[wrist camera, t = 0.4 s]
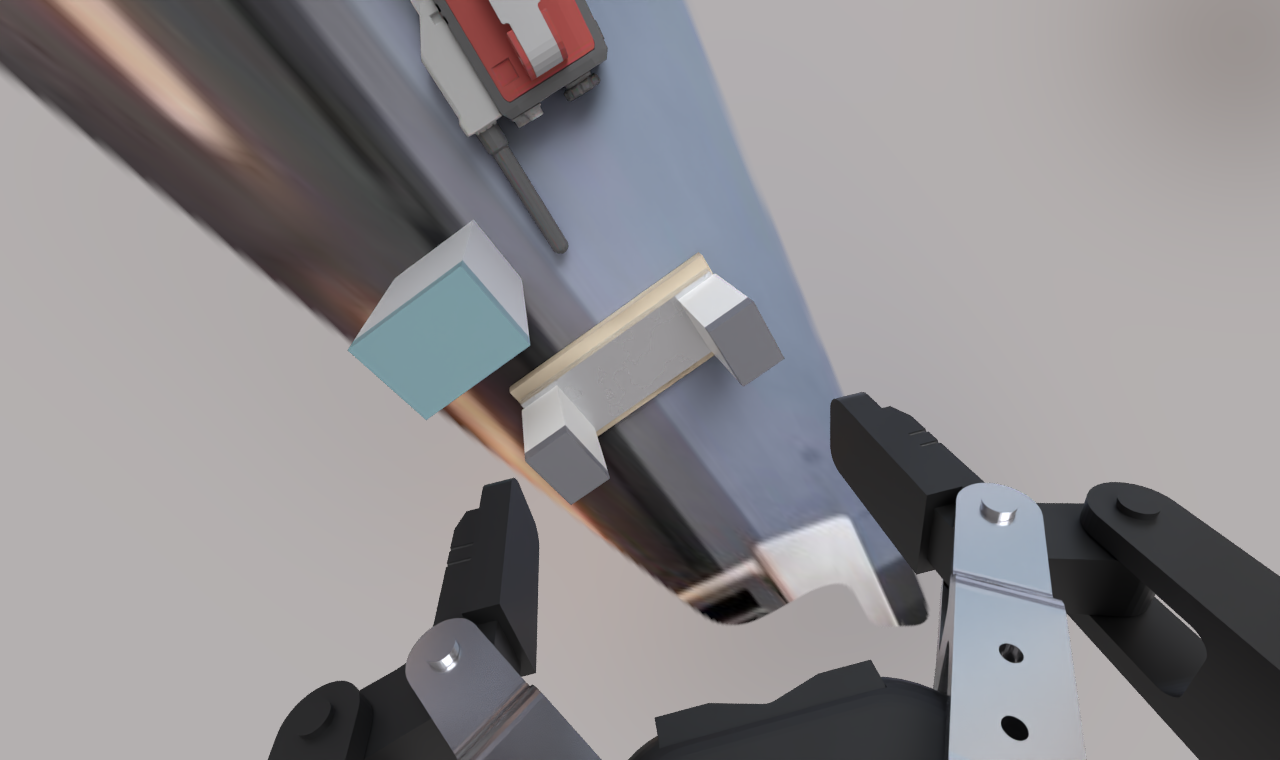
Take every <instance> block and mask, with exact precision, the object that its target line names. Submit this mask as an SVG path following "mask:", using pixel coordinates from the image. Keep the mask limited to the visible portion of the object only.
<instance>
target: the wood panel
mask: <svg viewBox="0 0 1280 760" xmlns="http://www.w3.org/2000/svg"><path fill="white" fill-rule="evenodd" d="M705 268H707V269H708V270H710V268H709V266H708V264H707V263H706V261H705V259H704V257H703V256H702V255H701V254H700V253H697V254H695V255H694V256H693V257H691V258H690V259H688V260H687V261H686V262H684V263H683V264H681V265H680V266H679V267H677V268H676V269H674V270H673V271H672V272H670V273H669V274H667V275H666V276H665V277H663V278H662V279H660V280H659V281H658V282H656V283H655V284H653V285H652V286H651V287H649V288H648V289H646V290H645V291H644V292H642V293H641V294H639V295H638V296H637V297H635V298H634V299H632V300H631V301H630V302H628V303H627V304H625V305H624V306H623V307H621V308H620V309H618V310H617V311H616V312H614V313H613V314H611V315H610V316H609V317H607V318H606V319H604V320H603V321H602V322H600V323H599V324H597V325H596V326H594V327H593V328H592V329H590V330H589V331H587V332H586V333H585V334H583V335H582V336H580V337H579V338H578V339H576V340H575V341H573V342H572V343H571V344H569V345H568V346H566V347H565V348H564V349H562V350H561V351H559V352H558V353H557V354H555V355H554V356H552V357H551V358H550V359H548V360H547V361H545V362H544V363H543V364H541V365H540V366H538V367H537V368H536V369H534V370H533V371H531V372H530V373H529V374H527V375H526V376H524V377H523V378H522V379H520V380H519V381H517V382H516V383H515V384H513V385H512V386H510V393H511V394H512V395H513V396H514V397H515V399H516V400H517V401H518V402H519V403H520V404H521V401H520V400H521V399H522V398H523V397H525V396H526V395H528V394H529V393H530V392H532V391H533V390H535V389H536V388H537V387H539V386H540V385H542V384H543V383H544V382H546V381H547V380H549V379H550V378H552V377H553V376H554V375H556V374H557V373H559V372H560V371H561V370H563V369H564V368H566V367H567V366H568V365H570V364H571V363H573V362H574V361H575V360H577V359H578V358H580V357H581V356H583V355H584V354H585V353H587V352H588V351H590V350H591V349H592V348H594V347H595V346H597V345H598V344H599V343H601V342H602V341H604V340H605V339H606V338H608V337H609V336H611V335H612V334H614V333H615V332H616V331H618V330H619V329H621V328H622V327H623V326H625V325H626V324H628V323H629V322H630V321H632V320H633V319H635V318H636V317H637V316H639V315H640V314H642V313H643V312H645V311H646V310H647V309H649V308H650V307H652V306H653V305H654V304H656V303H657V302H659V301H660V300H661V299H663V298H664V297H666V296H667V295H668V294H670V293H671V292H673V291H674V290H676V289H677V288H678V287H680V286H681V285H683V284H684V283H685V282H687V281H688V280H690V279H691V278H692V277H694V276H695V275H697V274H698V273H699V272H701V271H702V270H704V269H705ZM710 271H711V270H710ZM711 273H712V271H711ZM712 275H713V273H712ZM713 356H714V354H713V352H710V353H709V354H707V355H706V356H705V357H703V358H702V359H700V360H699V361H697V362H696V363H694V364H693V365H692V366H690V367H689V368H687V369H686V370H684V371H683V372H682V373H680V374H679V375H677V376H676V377H674V378H673V379H671V380H670V381H669V382H667V383H666V384H664V385H663V386H661V387H660V388H658V389H657V390H656V391H654V392H653V393H651V394H650V395H648V396H647V397H646V398H644V399H643V400H641V401H640V402H638V403H637V404H635V405H634V406H633V407H631V408H630V409H628V410H627V411H625V412H624V413H622V414H621V415H620V416H618V417H617V418H615V419H614V420H612V421H611V422H610V423H608V424H607V425H605V426H604V427H602V428H601V429H599V430H598V431H597V432H596V434H597V436H599V435H600V434H602V433H603V432H605V431H606V430H607V429H609V428H610V427H612V426H613V425H615V424H616V423H618V422H619V421H620V420H622V419H623V418H625V417H626V416H628V415H629V414H631V413H632V412H633V411H635V410H636V409H638V408H639V407H641V406H642V405H644V404H645V403H646V402H648V401H649V400H651V399H652V398H654V397H655V396H656V395H658V394H659V393H661V392H662V391H664V390H665V389H667V388H668V387H669V386H671V385H672V384H674V383H675V382H677V381H678V380H680V379H681V378H682V377H684V376H685V375H687V374H688V373H690V372H691V371H693V370H694V369H695V368H697V367H698V366H700V365H701V364H703V363H704V362H705V361H707V360H708V359H710V358H711V357H713Z"/></svg>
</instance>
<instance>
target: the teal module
mask: <svg viewBox="0 0 1280 760" xmlns="http://www.w3.org/2000/svg"><path fill="white" fill-rule="evenodd" d="M529 346H530V339H529V331H528V323H527V315H526V307H525V300H524V292H523V284H522V278H521V277H520V276H519V275H518V274H517V272H516V271H515V270H514V269H513V267H512V266H511V265H510V264H509V262H508V261H507V260H506V259H505V258H504V256H503V255H502V254H501V253H500V251H499V250H498V249H497V248H496V246H495V245H494V244H493V243H492V242H491V240H490V239H489V238H488V237H487V235H486V234H485V233H484V232H483V230H482V229H481V228H480V227H479V226H478V224H477V223H476V222H475V221H474V220H472V221H471V222H470V223H468V224H467V225H466V226H464V227H463V228H462V229H460V230H459V231H457V232H456V233H455V234H453V235H452V236H451V237H449V238H448V239H447V240H445V241H444V242H443V243H441V244H440V245H439V246H437V247H436V248H435V249H433V250H432V251H431V252H429V253H428V254H427V255H425V256H424V257H423V258H421V259H420V260H419V261H417V262H416V263H415V264H413V265H412V266H411V267H409V268H408V269H407V270H405V271H404V272H403V273H401V274H400V275H399V276H397V277H396V278H395V279H394V280H393V282H392V283H391V285H390V286H389V288H388V289H387V291H386V292H385V294H384V296H383V297H382V299H381V300H380V302H379V303H378V305H377V306H376V308H375V309H374V311H373V312H372V314H371V315H370V317H369V318H368V320H367V321H366V323H365V324H364V326H363V327H362V329H361V330H360V332H359V334H358V335H357V337H356V338H355V340H354V341H353V343H352V344H351V346H350V347H349V349H348V351H349V352H350V353H351V354H352V355H354V356H355V357H356V358H357V359H358V360H359V361H360V362H362V363H363V364H364V365H365V366H366V367H367V368H368V369H369V370H371V371H372V372H373V373H374V374H375V375H376V376H377V377H378V378H380V379H381V380H382V381H383V382H384V383H385V384H386V385H387V386H388V387H390V388H391V389H392V390H393V391H394V392H395V393H397V394H398V395H399V396H400V397H401V398H402V399H403V400H404V401H405V402H406V403H408V404H409V405H410V406H411V407H412V408H413V409H414V410H416V411H417V412H418V413H419V414H420V415H421V416H422V417H423V418H425V419H426V420H427V419H428V418H430V417H431V416H433V415H434V414H435V413H437V412H438V411H440V410H441V409H442V408H444V407H445V406H447V405H448V404H449V403H451V402H452V401H454V400H455V399H456V398H458V397H459V396H461V395H462V394H463V393H465V392H466V391H467V390H469V389H470V388H472V387H473V386H474V385H476V384H477V383H479V382H480V381H481V380H483V379H484V378H486V377H487V376H488V375H490V374H491V373H493V372H494V371H495V370H497V369H498V368H500V367H501V366H502V365H504V364H505V363H506V362H508V361H509V360H511V359H512V358H513V357H515V356H516V355H518V354H519V353H520V352H522V351H523V350H525V349H526V348H527V347H529Z"/></svg>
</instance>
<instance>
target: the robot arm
mask: <svg viewBox="0 0 1280 760" xmlns="http://www.w3.org/2000/svg"><path fill="white" fill-rule="evenodd" d="M830 449H831V454H832V458H833V461H834V464H835V466H836V468H837V470H838V471H839V473H840V474H841V475H842V477H843V478H844V479H845V481H846V482H847V483H848V485H849V486H850V487H851V488H852V490H853V491H854V492H855V494H856V495H857V496H858V498H859V499H860V500H861V502H862V503H863V504H864V506H865V507H866V508H867V510H868V511H869V512H870V514H871V515H872V516H873V518H874V519H875V520H876V522H877V523H878V524H879V526H880V527H881V528H882V530H883V531H884V532H885V534H886V535H887V536H888V538H889V539H890V540H891V541H892V543H893V544H894V545H895V547H896V548H897V549H898V551H899V552H900V553H901V555H902V556H903V557H904V559H905V560H906V561H907V563H908V564H909V565H910V567H911V568H912V569H913V571H914V572H915V573H916V574H920V573H924V572H928V571H932V570H936V571H937V572H938V574H939V575H940V576H941V577H942V579H943V580H942V585H941V597H940V612H939V627H938V642H937V658H936V669H935V677H934V685H933V689H932V688H929V687H926V686H924V685H921V684H918V683H914V682H911V681H907V680H903V679H897V678H889V677H880V675H879V673H878V672H877V670H876V668H875V666H874V665H873V663H872V661H871V660H868V661H864V662H860V663H857V664H853V665H849V666H846V667H842V668H838V669H834V670H830V671H827V672H823V673H820V674H817V675H815V676H814V677H812V678H811V679H809V680H808V681H806V682H804V683H803V684H801V685H799V686H798V687H796V688H794V689H793V690H791V691H790V692H788V693H786V694H785V695H783V696H782V697H780V698H778V699H777V700H775V701H773V702H771V703H768V704H723V703H708V704H704V705H700V706H696V707H693V708H689V709H685V710H681V711H678V712H674V713H670V714H667V715H663V716H659V717H655V722H656V728H657V734H658V736H656V737H655V738H653V739H652V740H650V741H648V742H647V743H646V744H645V745H643V746H642V747H641V748H640V749H638V750H637V751H636V752H635V753H634V754H633V755H632V757H630V758H629V759H628V760H1087V759H1086V752H1085V745H1084V738H1083V730H1082V724H1081V716H1080V709H1079V702H1078V695H1077V687H1076V680H1075V674H1074V666H1073V659H1072V651H1071V645H1070V637H1069V630H1068V623H1067V616H1066V614H1068V615H1069V616H1070V617H1071V619H1072V620H1073V621H1074V622H1075V623H1076V624H1077V625H1078V626H1079V627H1080V629H1081V630H1082V631H1083V632H1084V633H1085V634H1086V635H1087V636H1088V637H1089V638H1090V640H1091V641H1092V642H1093V643H1094V644H1095V645H1096V646H1097V647H1098V648H1099V650H1101V652H1102V653H1103V654H1104V655H1105V656H1106V657H1107V658H1108V659H1109V661H1110V662H1111V663H1112V664H1113V665H1114V666H1115V667H1116V668H1117V669H1118V671H1119V672H1120V673H1121V674H1122V675H1123V676H1124V677H1125V678H1126V679H1127V680H1128V681H1129V683H1130V684H1131V685H1132V686H1133V687H1134V688H1135V689H1136V690H1137V692H1138V693H1139V694H1140V695H1141V696H1142V697H1143V698H1144V699H1145V700H1146V701H1147V703H1148V704H1149V705H1150V706H1151V707H1152V708H1153V709H1154V710H1155V711H1156V712H1157V714H1158V715H1159V716H1160V717H1161V718H1162V719H1163V720H1164V721H1165V722H1166V724H1167V725H1168V726H1169V727H1170V728H1171V729H1172V730H1173V731H1174V732H1175V733H1176V735H1177V736H1178V737H1179V738H1180V739H1181V740H1182V741H1183V742H1184V743H1185V745H1186V746H1187V747H1188V748H1189V749H1190V750H1191V751H1192V752H1193V753H1194V755H1195V756H1196V757H1197V758H1198V759H1199V760H1280V576H1278V575H1277V574H1276V573H1274V572H1273V571H1271V570H1270V569H1269V568H1267V567H1266V566H1264V565H1263V564H1262V563H1260V562H1259V561H1257V560H1256V559H1255V558H1253V557H1252V556H1250V555H1249V554H1248V553H1246V552H1245V551H1243V550H1242V549H1241V548H1239V547H1238V546H1236V545H1235V544H1234V543H1232V542H1231V541H1229V540H1228V539H1226V538H1225V537H1224V536H1222V535H1221V534H1220V533H1218V532H1217V531H1215V530H1214V529H1212V528H1211V527H1210V526H1208V525H1207V524H1205V523H1204V522H1203V521H1201V520H1200V519H1198V518H1197V517H1196V516H1194V515H1193V514H1191V513H1190V512H1189V511H1187V510H1186V509H1184V508H1183V507H1182V506H1180V505H1179V504H1177V503H1176V502H1175V501H1173V500H1171V499H1170V498H1168V497H1167V496H1165V495H1163V494H1161V493H1159V492H1156V491H1154V490H1152V489H1149V488H1146V487H1143V486H1139V485H1135V484H1129V483H1120V482H1119V483H1118V482H1109V483H1103V484H1100V485H1097V486H1095V487H1093V488H1092V489H1091V490H1090V491H1089V492H1088V494H1087V497H1086V500H1085V503H1084V504H1071V503H1070V504H1068V503H1065V504H1063V503H1056V504H1055V503H1035V502H1034V501H1033V500H1032V499H1031V498H1030V497H1028V496H1027V495H1026V494H1024V493H1022V492H1020V491H1018V490H1016V489H1014V488H1011V487H1008V486H1005V485H1001V484H995V483H985V482H983V481H982V480H981V479H980V478H979V477H978V476H977V475H976V474H975V473H974V472H972V471H971V470H970V469H969V468H968V467H967V466H966V465H965V464H964V463H962V462H961V461H960V460H959V459H958V458H957V457H956V456H955V455H954V454H953V453H951V452H950V451H949V450H948V449H947V448H946V447H945V446H944V445H943V444H942V443H938V440H937V439H936V438H935V437H934V436H933V435H932V434H930V433H929V432H926V430H925V428H924V427H923V426H921V425H920V424H919V423H918V422H917V421H916V420H915V419H914V418H913V417H912V416H910V415H908V414H906V413H904V412H901V411H899V410H897V409H895V408H893V407H891V406H889V407H886V408H881V407H880V406H879V405H878V404H877V403H876V402H875V401H874V400H873V399H872V398H870V396H869V395H867V394H866V393H864V392H860V393H857V394H852V395H848V396H844V397H840V398H836V399H833V400H832V402H831V406H830ZM447 564H448V567H446V570H445V575H444V580H443V584H442V589H441V593H440V598H439V602H438V607H437V612H436V616H435V621H434V625H433V627H432V628H431V629H430V630H428V631H427V632H426V633H425V634H424V635H422V636H421V638H420V639H419V640H418V641H417V642H416V644H415V645H414V646H413V648H412V650H411V652H410V654H409V656H408V659H407V662H406V663H405V664H404V665H403V666H401V667H400V668H398V669H397V670H395V671H393V672H391V673H390V674H388V675H386V676H384V677H383V678H381V679H379V680H377V681H376V682H374V683H372V684H370V685H368V686H367V687H365V688H363V689H361V690H360V691H359V690H358V689H357V688H356V687H355V686H354V685H353V684H352V683H349V682H347V681H335V682H331V683H328V684H326V685H324V686H321V687H320V688H318V689H316V690H315V691H313V692H311V693H310V694H309V695H307V696H306V697H305V698H304V699H302V700H301V701H300V702H299V703H298V704H297V705H296V706H295V708H294V709H293V710H292V711H291V712H290V713H289V715H288V716H287V717H286V719H285V720H284V722H283V724H282V726H281V727H280V730H279V732H278V734H277V736H276V739H275V742H274V744H273V747H272V750H271V752H270V755H269V758H268V760H601V759H600V758H599V756H598V755H597V754H596V753H595V752H594V751H593V750H592V749H591V747H590V746H589V745H588V744H587V743H586V742H585V741H584V740H583V738H582V737H581V736H580V735H579V734H578V733H577V732H576V731H575V730H574V729H573V727H572V726H571V725H570V724H569V723H568V722H567V721H566V719H565V718H564V717H563V716H562V715H561V714H560V713H559V712H558V710H557V709H556V708H555V707H554V706H553V705H552V704H551V703H550V701H549V700H548V699H547V698H546V697H545V696H544V695H543V694H542V693H541V692H540V691H539V690H538V689H537V688H536V687H535V686H534V685H531V686H529V685H528V684H527V683H526V682H525V681H524V680H523V678H522V676H526V675H530V674H534V673H536V650H537V609H538V572H539V539H538V533H537V528H536V524H535V521H534V519H533V516H532V514H531V512H530V509H529V507H528V505H527V502H526V500H525V497H524V495H523V493H522V490H521V488H520V485H519V483H518V481H517V480H516V479H515V478H512V479H508V480H504V481H500V482H496V483H492V484H488V485H485V486H484V487H483V490H482V495H481V501H480V507H479V508H478V509H475V510H470V511H467V512H466V513H465V514H464V516H463V518H462V519H461V520H460V522H459V524H458V525H457V527H456V528H455V530H454V534H453V538H452V543H451V551H450V552H449V557H448V561H447ZM1155 594H1156V595H1157V596H1158V597H1159V598H1161V599H1162V600H1163V601H1164V602H1165V603H1166V604H1167V605H1168V606H1169V607H1171V608H1172V609H1173V610H1174V611H1175V612H1176V613H1177V614H1178V615H1180V616H1181V617H1182V618H1183V619H1184V620H1185V621H1186V622H1187V623H1188V624H1190V625H1191V626H1192V627H1193V628H1194V629H1195V630H1196V632H1197V633H1198V634H1199V636H1200V637H1201V638H1199V637H1198V636H1197V635H1196V634H1195V633H1194V632H1193V631H1192V630H1191V629H1189V628H1188V627H1187V626H1186V625H1185V624H1184V623H1183V622H1182V621H1181V620H1180V619H1178V618H1177V617H1176V616H1175V615H1174V614H1173V613H1172V612H1171V611H1169V609H1167V608H1166V607H1165V606H1164V605H1163V604H1162V603H1161V602H1160V601H1159V600H1158V599H1156V598H1155V597H1154V596H1155Z"/></svg>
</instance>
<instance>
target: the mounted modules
mask: <svg viewBox="0 0 1280 760" xmlns="http://www.w3.org/2000/svg"><path fill="white" fill-rule="evenodd" d="M678 301H679V302H680V304H681V305H682V307H683V309H684V310H685V312H686V313H687V315H688V316H689V318H690V320H691V321H692V323H693V324H694V326H695V327H696V329H697V331H698V332H699V334H700V335H701V337H702V338H703V340H704V342H705V343H706V345H707V346H708V348H709V349H710V350H711V351H712V352H713V354H714V355H715V356H716V357H717V358H718V359H719V360H720V361H721V362H722V364H723V365H724V366H725V367H726V368H727V369H728V370H729V371H730V373H731V374H732V375H733V376H734V377H735V378H736V379H737V380H738V381H739V383H740V384H741V385H742V386H743V387H744V386H745V385H747V384H748V383H750V382H751V381H753V380H754V379H756V378H757V377H758V376H760V375H761V374H763V373H764V372H766V371H767V370H769V369H770V368H772V367H773V366H775V365H776V364H777V363H779V362H780V361H782V360H783V359H785V358H784V357H783V355H782V353H781V351H780V349H779V347H778V346H777V344H776V342H775V340H774V338H773V336H772V335H771V333H770V331H769V329H768V327H767V325H766V323H765V322H764V320H763V318H762V316H761V314H760V312H759V311H758V309H757V307H756V305H755V303H754V302H753V301H752V300H751V299H749V298H748V297H747V296H745V295H744V294H743V293H741V292H740V291H738V290H737V289H736V288H734V287H733V286H732V285H730V284H729V283H728V282H726V281H725V280H723V279H722V278H721V277H719V276H718V275H717V274H714V275H712V276H711V277H709V278H708V279H706V280H705V281H704V282H702V283H701V284H699V285H698V286H697V287H695V288H694V289H692V290H691V291H690V292H688V293H687V294H685V295H684V296H682V297H681V298H680V299H678ZM522 421H523V436H524V450H525V461H526V462H527V463H528V464H529V465H530V466H531V467H532V468H533V469H534V470H535V471H536V472H537V473H538V474H539V475H540V476H541V477H542V478H543V479H544V480H545V481H546V482H548V483H549V484H550V485H551V486H552V487H553V488H554V489H555V490H556V491H557V492H558V493H559V494H560V495H561V496H562V497H563V498H564V499H565V500H566V501H567V502H568V503H569V504H570V505H572V504H573V503H575V502H576V501H577V500H579V499H580V498H582V497H583V496H585V495H586V494H588V493H589V492H591V491H592V490H594V489H595V488H596V487H598V486H599V485H601V484H602V483H604V482H605V481H607V480H608V479H610V477H609V474H608V471H607V467H606V464H605V461H604V457H603V454H602V451H601V447H600V444H599V441H598V437H597V434H596V431H595V428H594V426H593V425H592V424H591V423H590V422H589V421H588V420H587V419H586V417H585V416H584V415H583V414H582V413H581V412H580V411H579V410H578V408H577V407H576V406H575V405H574V404H573V403H572V402H571V401H570V399H569V398H568V397H567V396H566V395H565V394H564V393H563V391H562V390H561V389H560V388H559V387H558V386H555V387H554V388H552V389H551V390H550V391H548V392H547V393H545V394H544V395H543V396H541V397H540V398H538V399H537V400H536V401H534V402H533V403H531V404H530V405H528V406H527V407H526V408H524V409H523V410H522Z"/></svg>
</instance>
